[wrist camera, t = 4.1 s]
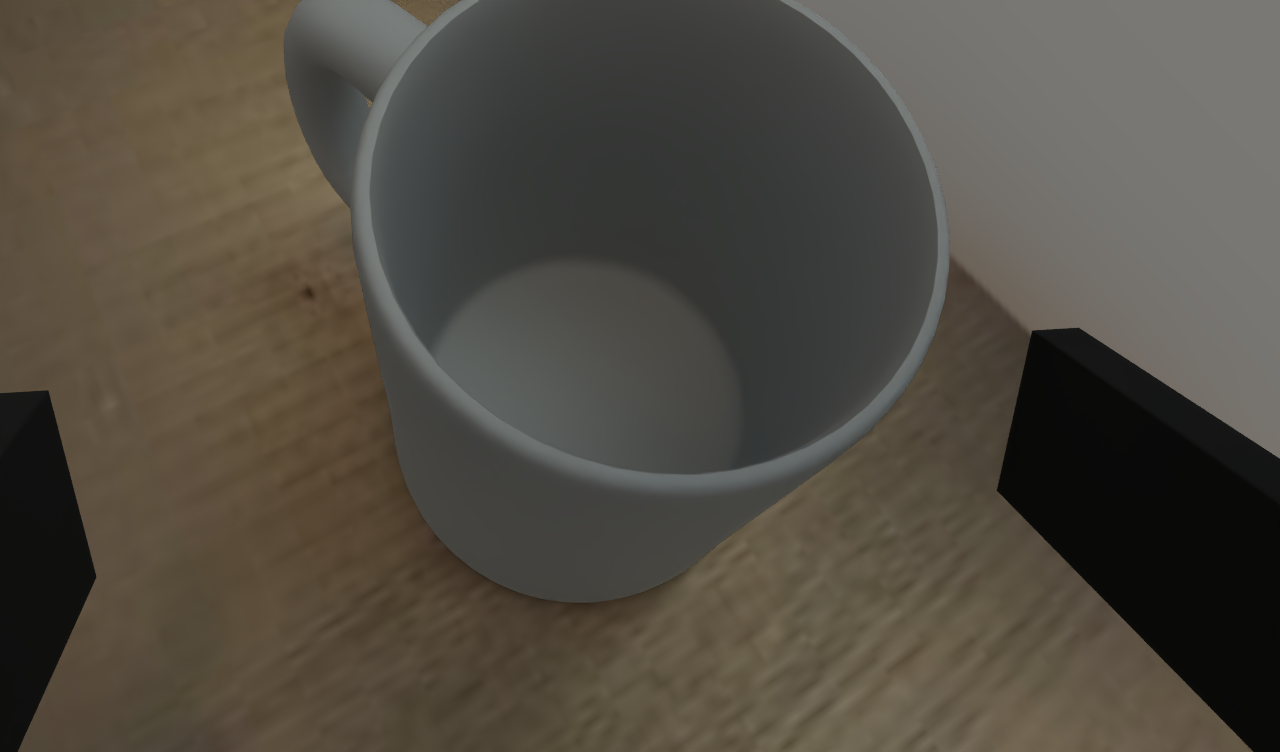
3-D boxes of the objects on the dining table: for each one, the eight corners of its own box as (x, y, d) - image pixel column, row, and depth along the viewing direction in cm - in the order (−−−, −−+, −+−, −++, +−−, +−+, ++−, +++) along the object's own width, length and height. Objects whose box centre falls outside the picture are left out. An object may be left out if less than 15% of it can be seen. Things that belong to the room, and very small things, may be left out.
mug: (817, 413, 25) (1065, 193, 15) (599, 687, 22) (720, 651, 12) (461, 118, 26) (459, -279, 16) (206, 338, 23) (-2, 24, 13)
